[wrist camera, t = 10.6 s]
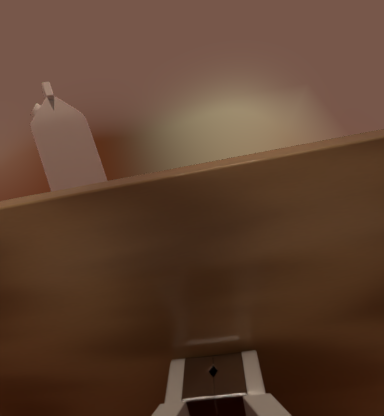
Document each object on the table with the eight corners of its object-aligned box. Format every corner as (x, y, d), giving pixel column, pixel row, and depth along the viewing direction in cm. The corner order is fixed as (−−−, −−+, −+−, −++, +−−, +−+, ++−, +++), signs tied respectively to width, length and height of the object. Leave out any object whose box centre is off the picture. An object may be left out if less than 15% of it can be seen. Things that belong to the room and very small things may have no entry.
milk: (114, 200, 63) (77, 75, 56) (60, 217, 59) (11, 82, 51) (103, 193, 74) (71, 86, 66) (56, 207, 69) (15, 93, 61)
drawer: (350, 264, 24) (345, 106, 20) (532, 453, 11) (619, 92, 7) (101, 300, 26) (55, 164, 22) (-6, 492, 13) (-165, 238, 9)
